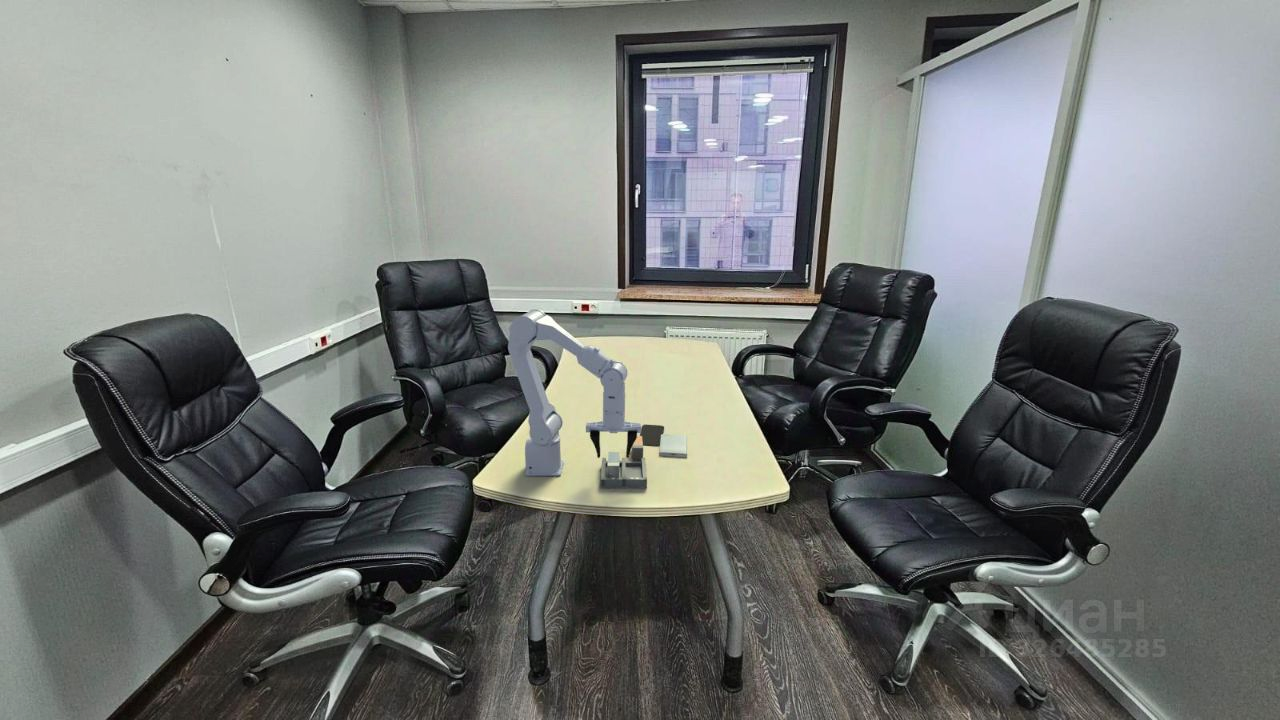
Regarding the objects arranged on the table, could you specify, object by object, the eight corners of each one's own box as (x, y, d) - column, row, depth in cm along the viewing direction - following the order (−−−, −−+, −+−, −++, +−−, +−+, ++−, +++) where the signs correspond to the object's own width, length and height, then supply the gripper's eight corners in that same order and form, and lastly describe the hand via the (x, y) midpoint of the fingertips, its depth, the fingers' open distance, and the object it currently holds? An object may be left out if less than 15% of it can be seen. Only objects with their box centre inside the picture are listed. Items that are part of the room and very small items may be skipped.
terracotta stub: (632, 462, 149) (632, 447, 148) (631, 449, 157) (631, 435, 156) (642, 462, 150) (643, 447, 148) (641, 449, 157) (642, 435, 156)
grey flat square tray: (600, 488, 136) (600, 479, 135) (602, 465, 147) (602, 457, 146) (646, 488, 136) (647, 479, 135) (644, 465, 148) (645, 457, 147)
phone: (637, 444, 160) (642, 424, 174) (636, 446, 160) (642, 426, 175) (661, 445, 159) (664, 425, 174) (661, 448, 160) (664, 427, 174)
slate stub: (607, 481, 138) (607, 465, 137) (608, 466, 146) (608, 451, 144) (619, 481, 138) (619, 465, 137) (619, 466, 146) (619, 451, 144)
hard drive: (660, 433, 165) (659, 451, 153) (686, 435, 165) (687, 453, 153) (660, 438, 166) (659, 456, 154) (686, 439, 165) (687, 458, 153)
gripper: (584, 414, 132) (585, 463, 136) (642, 415, 132) (640, 463, 136) (586, 404, 138) (586, 450, 142) (641, 404, 139) (639, 451, 143)
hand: (613, 456), depth 140 cm, fingers open, 7 cm apart
